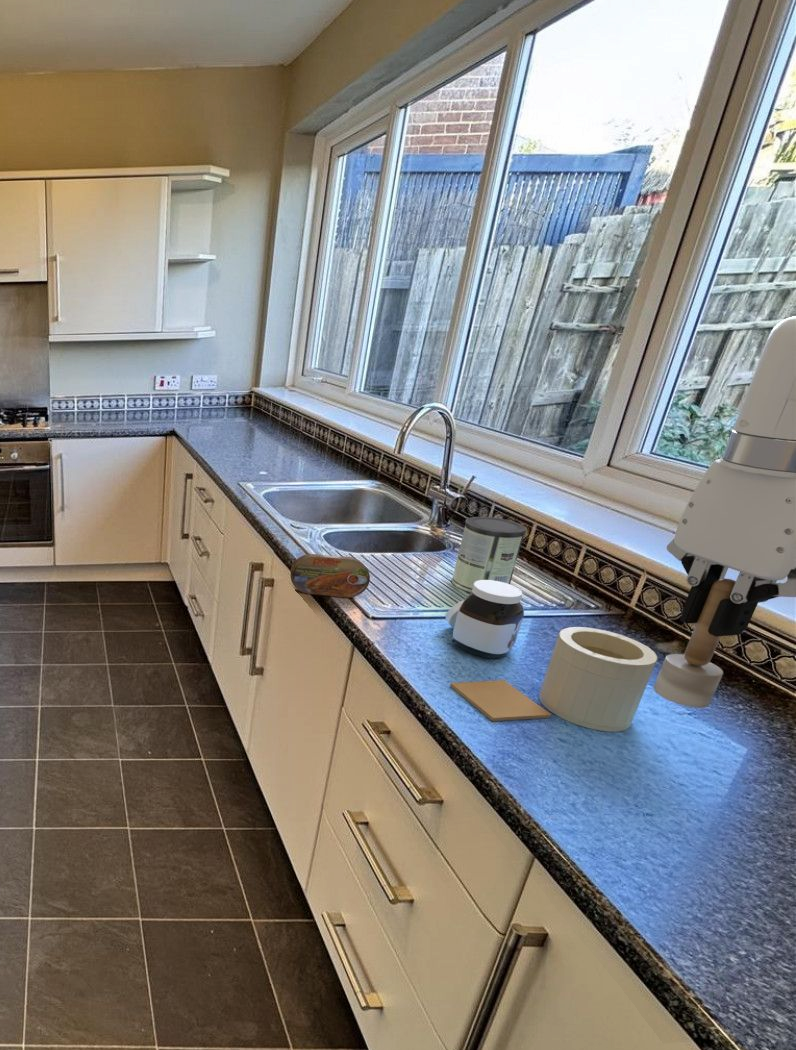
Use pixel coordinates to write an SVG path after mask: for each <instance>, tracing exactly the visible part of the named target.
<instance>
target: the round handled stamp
mask: <svg viewBox="0 0 796 1050" xmlns="http://www.w3.org/2000/svg"><path fill="white" fill-rule="evenodd" d="M735 582H736V580H735V579H732V578H724V579H719V580H717V581H715V582H714V583H713V585H712V587H711V590H710V592H709V594H708V597H707V599H706V602H705V604H704V606H703V609H702V611H701V614H700V616H699V619H698V621H697V623H695V626H694V629H693V631H692V634H691V636H690V638H689V641H688V642H687V645H686V648H685V650H684V652H683V654H680V653H670V654H667V655H666V656H665V658H664V660H663V662H662V665H661V668H660V670H659V673H658V675H657V678H656V681H655V683H654V685H653V690H654V692H655V693H656V694H657V695H659V696H660V697H662V698H663V699H666V700H668V701H670V702H671V703H672V702H673V703H674V704H677V705H681V706H684V707H689V708H697V709H702V708H707V707H709V706H710V705H711V702H712V699H713V697H714V695H715V693H716V691H717V688H718V687H719V684H720V681H721V680H722V677H723V676H724V671H723V669H722V668H721V667H719V665H716V664H715V663H712V662H711V661H712V658H713V657H714V653H715V651H716V649H717V646H718V644H719V642H720V640H721V638H722V636H717V637H716V636H713V635H711V634H709V632H708V629H709V626H710V624H711V622H712V619H713V617H714V614H715V612H716V610H717V607H718V605H719V603H720V601H721V600H722V599H730V594H731V592H732V590H733V587H734V585H735Z"/></svg>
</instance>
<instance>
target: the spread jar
mask: <svg viewBox="0 0 796 1050" xmlns="http://www.w3.org/2000/svg"><path fill="white" fill-rule="evenodd" d="M522 597H523V590H521V589H520V588H519V587H517V586H515V585H513V584H511V583H510V584H507V583H504V582H499V581H493V580H479V581H476V582H474V585H473V589H472V593H471V592H470V593H469V594H468V595H467V596H466V598H464V600H461V601H459V602H457V603H455V604H454V605H452V606H451V607H450V608H449V609H448V610H447V612H446V613H445V620H446V622H447V623H448V624H449V626H450V628H452V629H453V630H452V639H453V641H454V642H455V644H456V645H457V646H458V647H460V648H461V649H462V650H464V651H465V652H467V653H470V654H472V655H473V656H478V657H482V658H486V659H500V658H503V657H505V656H506V655H507V654H509V653H510V651H511V650H512V648H513V647H514V645H515V643H516V642H517V638H518V637H519V632H520V630H521V627H522V624H523V620H524V615H525V609H524V606H523V605H522V603H521V601H522Z"/></svg>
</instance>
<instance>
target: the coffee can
mask: <svg viewBox="0 0 796 1050" xmlns="http://www.w3.org/2000/svg"><path fill="white" fill-rule="evenodd" d="M464 524H465V526H464V530H463V533H462V538H461V541H460V545H459V550H458V554H457V559H456V562H455V568H454V570H453V574H452V577H451V583H452V585H453V586H455V587H456V588H457V589H460V590H462V591H465V592H468V593H470V594H471V593H472V589H473V585H474V582H476V581H479V580H493V581H499V582H504V583H507V584H510V585H511V583H512V578H513V575H514V571H515V568H516V564H517V561H518V557H519V554H520V551H521V547H522V543H523V539H524V537H525V536H524V535H525V534H526V533H527V527H526V526H524V525H523V524H522V523H519V522H516V521H513V520H509V519H504V518H500V517H491V516H473V517H468V518H466V519H465V521H464Z"/></svg>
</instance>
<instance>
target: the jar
mask: <svg viewBox="0 0 796 1050" xmlns="http://www.w3.org/2000/svg"><path fill="white" fill-rule="evenodd" d="M658 658H659V657H658V656H657V654H656V652H655V651H654V650H653V649H651V648H650V647H649V646H647V645H645V644H643V643H641V642H640V641H637V640H636V639H633V638H630V637H628V636H626V635H623V634H621V633H617V632H613V631H609V630H605V629H599V628H594V627H586V626H570V627H565V628H562V629H561V630H560V631H559V632H558V635H557V636H556V641H555V644H554V647H553V650H552V653H551V656H550V659H549V662H548V664H547V667H546V671H545V673H544V677H543V679H542V683H541V685H540V689H539V694H538V700H539V701H540V704H541V705H542V706H543V708H545V709H546V710H547V711H548V712H551V713H552V714H553V715H555V716H557V717H558V718H560V719H562V720H565V721H568V722H569V723H571V724H574V725H577V726H580V727H583V728H586V729H590V730H593V731H594V730H595V731H600V732H609V733H617V732H623V731H626V730H627V729H629V728H630V727H631V725H632V722H633V720H634V719H635V716H636V713H637V710H638V708H639V705H640V703H641V701H642V699H643V696H644V693H645V691H646V688H647V687H648V683H649V681H650V678H651V675H652V673H653V671H654V669H655V666H656V664H657V661H658Z"/></svg>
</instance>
